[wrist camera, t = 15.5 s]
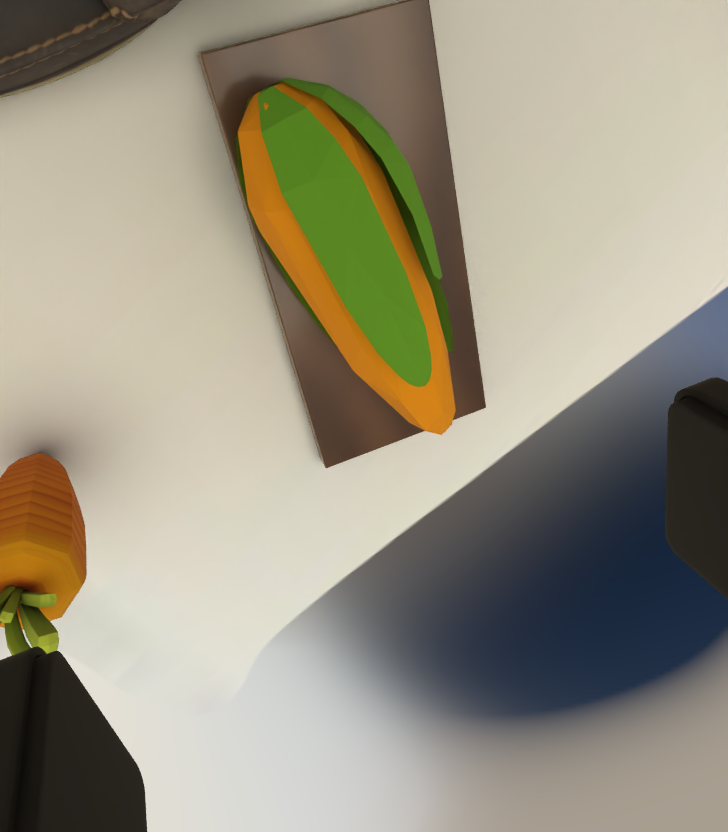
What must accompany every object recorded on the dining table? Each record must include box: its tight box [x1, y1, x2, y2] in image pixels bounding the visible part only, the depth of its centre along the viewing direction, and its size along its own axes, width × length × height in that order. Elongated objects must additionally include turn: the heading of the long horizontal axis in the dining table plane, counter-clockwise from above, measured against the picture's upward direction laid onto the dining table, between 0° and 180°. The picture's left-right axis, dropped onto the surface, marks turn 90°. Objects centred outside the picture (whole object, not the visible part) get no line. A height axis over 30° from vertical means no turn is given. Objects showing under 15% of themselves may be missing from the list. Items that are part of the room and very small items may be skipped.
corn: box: [236, 77, 456, 435], centre depth 33 cm, size 7×8×20 cm
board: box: [198, 0, 486, 468], centre depth 37 cm, size 11×23×1 cm, turn 12°
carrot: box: [0, 453, 86, 655], centre depth 30 cm, size 5×5×15 cm
